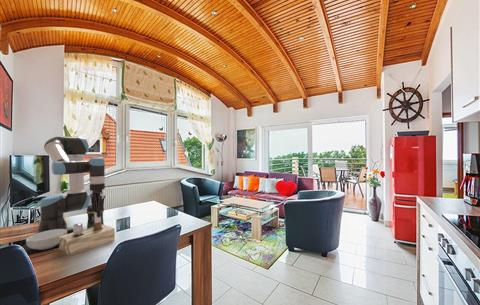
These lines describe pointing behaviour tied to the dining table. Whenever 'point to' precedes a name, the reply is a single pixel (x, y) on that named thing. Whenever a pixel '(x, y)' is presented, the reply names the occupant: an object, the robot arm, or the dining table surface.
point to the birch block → (86, 240)
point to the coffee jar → (92, 216)
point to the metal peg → (77, 230)
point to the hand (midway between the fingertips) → (97, 222)
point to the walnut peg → (97, 226)
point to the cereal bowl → (45, 239)
